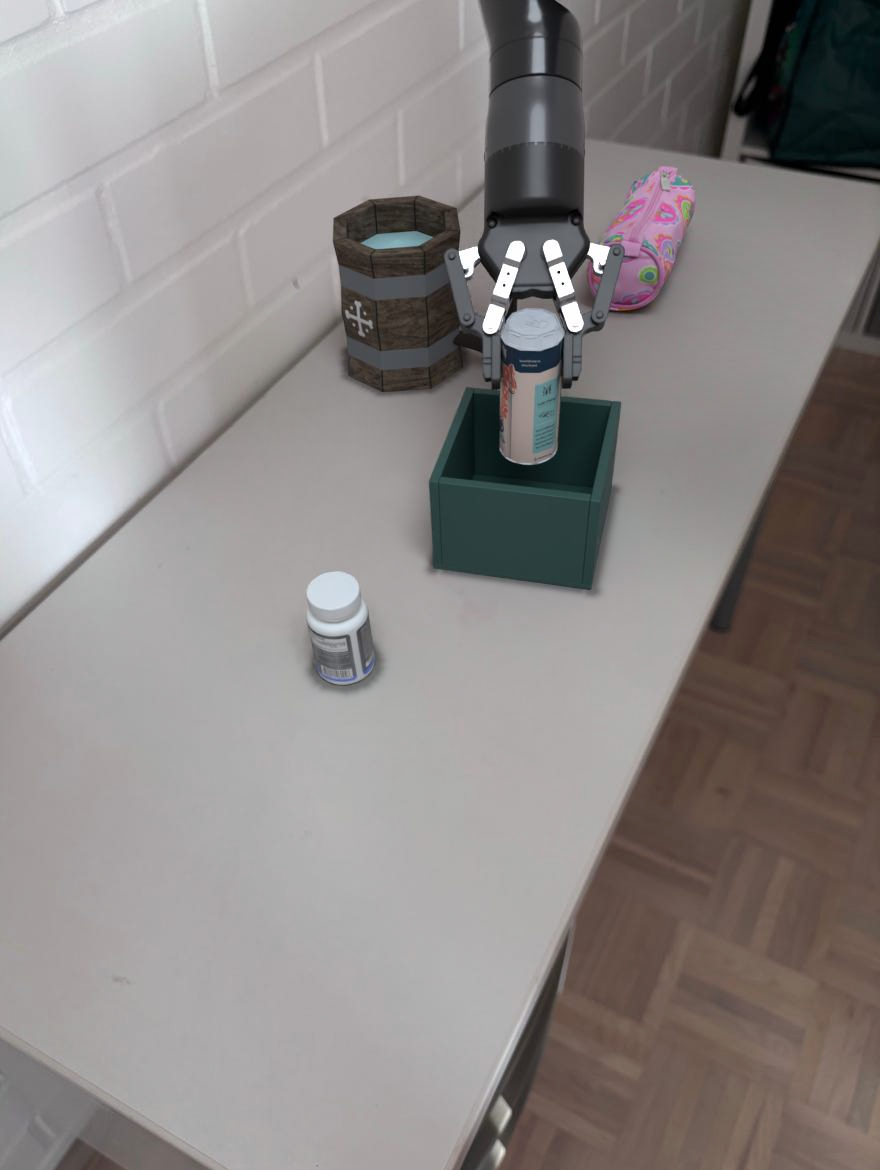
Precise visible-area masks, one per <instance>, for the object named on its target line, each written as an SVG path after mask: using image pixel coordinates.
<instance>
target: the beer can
mask: <svg viewBox="0 0 880 1170" xmlns="http://www.w3.org/2000/svg"><path fill="white" fill-rule="evenodd" d="M564 334H565V332H564V329H563V326H562V324H561V321H560V319H559V318H558V316H557V314H556V313H555V312H553V311H550V310H548V309H545V308H541V307H539V308H538V307H537V308H533V307H532V308H531V307H528V308H527V307H526V308H525V307H524V308H523V309H520V310H517V312H514V313H512V314H511V315H510V317H509V318H508V319H507V321H506V323H505V322H504V325H502V327H501V330H500V333H499V335H501V382H500V389H499V390H500V451H501V453H502V455H503V456H504V457H505V458H506V459H508V460H509V461H511V462H514V463H516V464H521V465H537V464H541V463H543V462H545V461H548V460H549V459H551V458H552V457H553V456H554V455H555V453H556V451H557V448H558V432H559V416H560V400H561V396H562V360H563V343H564Z"/></svg>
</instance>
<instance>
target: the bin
mask: <svg viewBox="0 0 880 1170" xmlns="http://www.w3.org/2000/svg"><path fill="white" fill-rule="evenodd" d="M621 410H622V401H618V400H609V399H608V400H607V399H598V398H586V397H576V396H565V395H561V400H560V416H559V432H558V448H557V451H556V453H555V455H554V456H553V457H552V458H551V459H549V460H548V461H545V462H543V463H541V464H537V465H521V464H516V463H514V462H511V461H509V460H508V459H506V458H505V457H504V456H503V455H502V453H501V451H500V389H499V390H492V388H482V387H471V386H466V387H465V389H464V391H463V394H462V396H461V399H460V402H459V404H458V407H457V410H456V411H455V414H454V416H453V419H452V422H451V424H450V427H449V429H448V432H447V435H446V437H445V440H444V441H443V445H442V446H441V450H440V452H439V455H438V457H437V460H436V462H435V465H434V466H433V470H432V471H431V472H432V473H431V475H430V478H429V480H428V489H429V491H428V492H429V507H430V508H429V511H430V525H431V526H430V527H431V544H432V546H431V547H432V561H433V562H432V563H433V568H434V569H439V570H446V571H453V572H460V573H467V574H475V575H482V576H489V577H496V578H504V579H509V580H511V579H512V580H518V581H526V582H533V583H540V584H547V585H555V586H562V587H570V588H577V589H584V590H589V591H591V590H592V587H593V583H594V577H595V572H596V567H597V562H598V558H599V552H600V548H601V543H602V537H603V532H604V527H605V523H606V519H607V513H608V508H609V503H610V499H611V493H612V487H613V479H614V470H615V463H616V454H617V446H618V444H617V443H618V435H619V426H620V417H621V412H622V411H621Z"/></svg>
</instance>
